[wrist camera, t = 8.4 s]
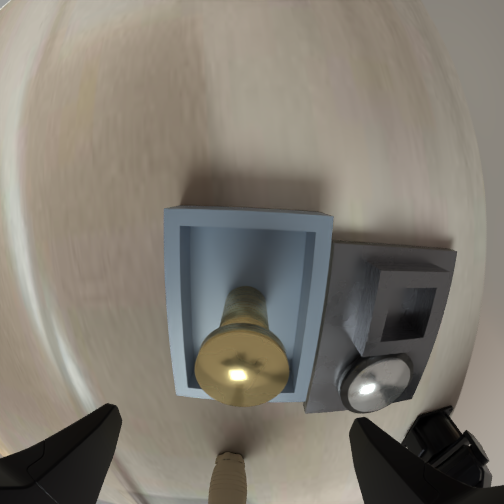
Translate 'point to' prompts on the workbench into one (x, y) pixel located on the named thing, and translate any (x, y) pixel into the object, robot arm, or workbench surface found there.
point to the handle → (228, 480)
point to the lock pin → (242, 354)
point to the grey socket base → (377, 324)
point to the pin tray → (245, 281)
